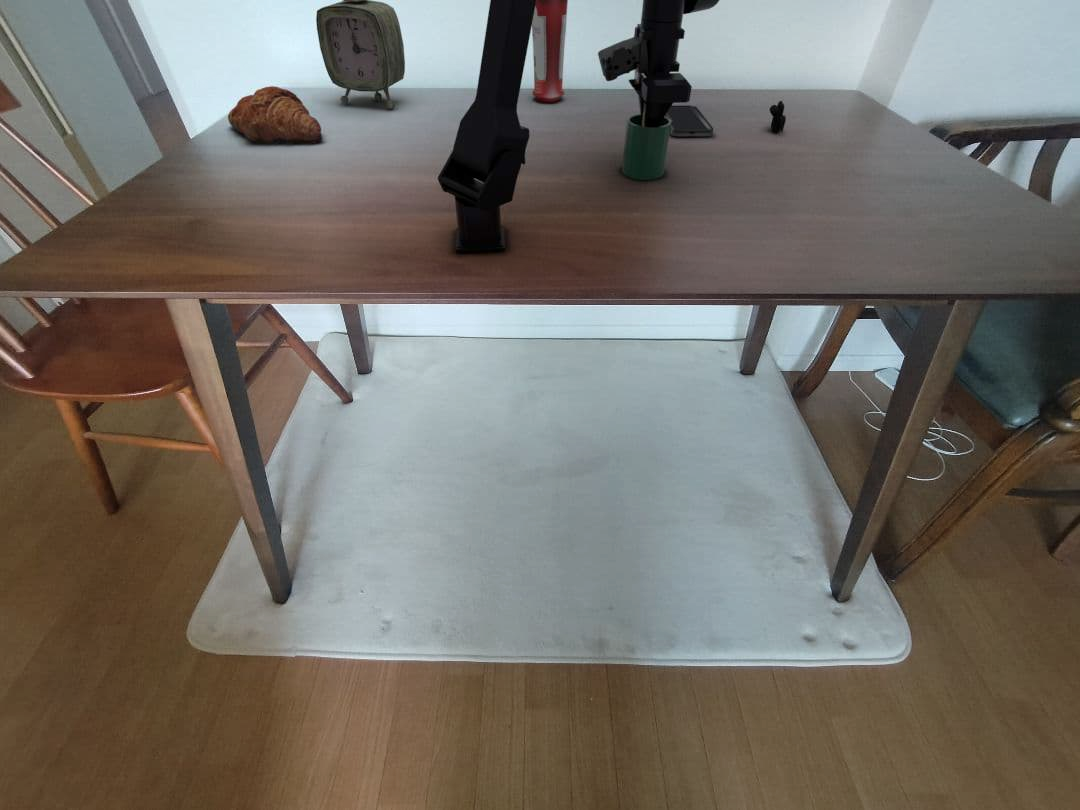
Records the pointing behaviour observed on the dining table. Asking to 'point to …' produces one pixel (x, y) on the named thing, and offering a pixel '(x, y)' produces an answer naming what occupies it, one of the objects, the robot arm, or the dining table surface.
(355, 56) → the tabletop clock
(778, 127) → the black figurine
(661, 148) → the cup
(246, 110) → the pastry
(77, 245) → the dining table surface
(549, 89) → the liquor
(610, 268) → the dining table surface
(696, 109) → the phone
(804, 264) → the dining table surface
